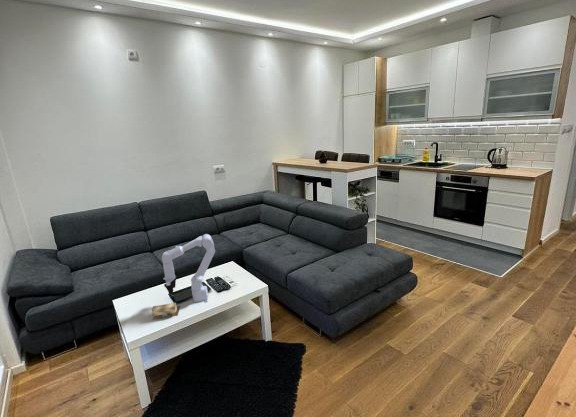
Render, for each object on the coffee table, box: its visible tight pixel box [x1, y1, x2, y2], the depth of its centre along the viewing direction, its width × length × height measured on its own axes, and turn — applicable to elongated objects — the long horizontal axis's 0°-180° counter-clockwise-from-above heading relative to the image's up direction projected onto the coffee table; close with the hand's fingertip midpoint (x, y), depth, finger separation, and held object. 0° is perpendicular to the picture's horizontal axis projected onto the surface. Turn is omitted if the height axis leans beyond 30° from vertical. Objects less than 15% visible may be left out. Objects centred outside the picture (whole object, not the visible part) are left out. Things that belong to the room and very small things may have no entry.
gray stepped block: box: [161, 313, 171, 319], centre depth 181 cm, size 5×4×2 cm
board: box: [152, 305, 181, 321], centre depth 185 cm, size 14×11×1 cm
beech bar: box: [151, 302, 178, 317], centre depth 180 cm, size 13×4×4 cm, turn 100°
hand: (172, 290), depth 190 cm, fingers open, 7 cm apart
